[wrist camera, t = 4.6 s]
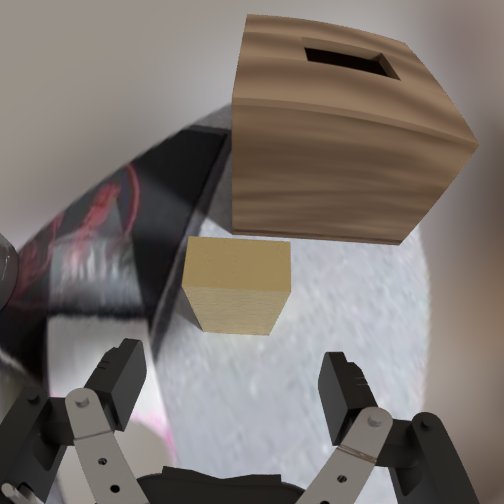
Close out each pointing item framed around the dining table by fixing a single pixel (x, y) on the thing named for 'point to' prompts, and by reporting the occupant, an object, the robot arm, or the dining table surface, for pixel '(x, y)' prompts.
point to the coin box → (338, 134)
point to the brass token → (237, 283)
